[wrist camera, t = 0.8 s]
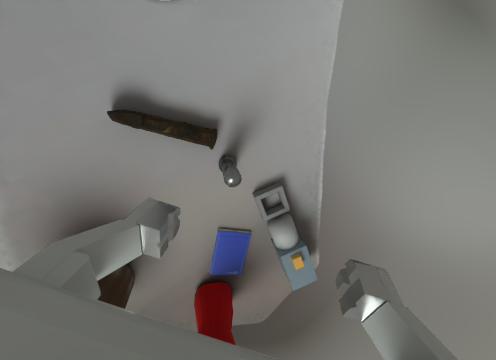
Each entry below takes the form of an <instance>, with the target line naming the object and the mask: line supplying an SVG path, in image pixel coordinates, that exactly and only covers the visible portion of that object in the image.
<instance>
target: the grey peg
mask: <svg viewBox="0 0 496 360" xmlns="http://www.w3.org/2000/svg"><path fill="white" fill-rule="evenodd" d="M219 168H220V170H221V171H222V172H223V176H224V181H225V183H226V185H228V186H229V187H236V186H238V185H239V184H240V182H241V175H240V173H239V171H238V169H237V167H236V161H235V160H234V158H233V157H231V156H223V157H222V158H221V159H220V161H219Z"/></svg>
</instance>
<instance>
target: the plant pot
mask: <svg viewBox="0 0 496 360" xmlns="http://www.w3.org/2000/svg"><path fill="white" fill-rule="evenodd" d="M97 282H98V285H99V288H100V291H101V295H100V296H99V298H98V299H97V300H99V301H102V302H105V303H108V304H111V305H114V306H117V307H120V308H123V309H125V307H126V304H127V302H128V299H129V296H130V293H131V290H132V288H133V285H134V275H133V272H132V270H131V269H130V267H129V266H128V265H127V264H125V265H123V266H122V267H120V268H118V269H117V270H115V271H113V272H112V273H110V274H108V275H107V276H105V277H103V278H101V279H100V280H98V281H97Z"/></svg>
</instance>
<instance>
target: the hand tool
mask: <svg viewBox="0 0 496 360" xmlns="http://www.w3.org/2000/svg"><path fill="white" fill-rule="evenodd" d="M107 114H108V115H109V117H110V118H111V119H112V121H115V122H118V123H120V124H123V125H128V126H131V127H133V128H137V129H143V130H146V131H151V132H155V133H158V134H162V135H165V136H169V137H173V138H177V139H181V140H185V141H188V142H192V143H196V144H201V145H205V146H208V147H210V149H211V150H212V149H213V148H214V145H215V143H216V139H217V129H213V130H210V129H208V128H205V129H204V128H201V127H198V126H194V125H192V124H188V123H185V122H183V123H181V122H177V121H172V120H168V119H164V118H160V117H156V116H152V115H148V114H144V113H141V112H135V111H127V110H114V111H108V112H107Z"/></svg>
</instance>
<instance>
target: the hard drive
mask: <svg viewBox="0 0 496 360" xmlns="http://www.w3.org/2000/svg"><path fill="white" fill-rule="evenodd" d="M250 236H251V232H250V231H239V230H228V229H217V234H216V239H215V244H214V249H213V255H212V260H211V265H210V270H209V274H216V275H241V272H242V268H243V264H244V260H245V256H246V252H247V248H248V244H249V240H250Z"/></svg>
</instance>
